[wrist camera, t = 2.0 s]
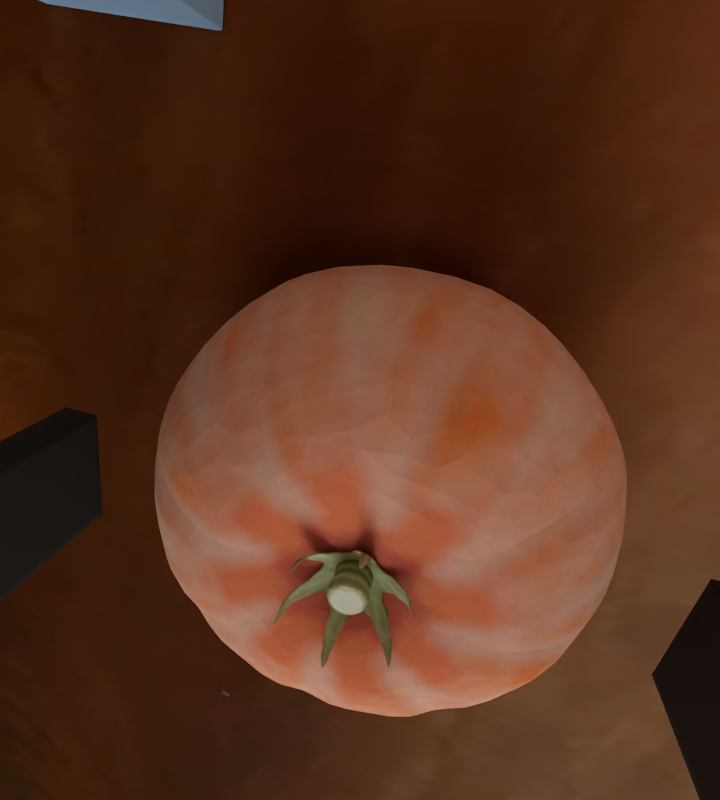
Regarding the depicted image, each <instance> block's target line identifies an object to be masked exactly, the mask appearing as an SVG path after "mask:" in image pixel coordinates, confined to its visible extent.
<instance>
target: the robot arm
mask: <svg viewBox="0 0 720 800" xmlns="http://www.w3.org/2000/svg"><path fill="white" fill-rule="evenodd" d="M101 515H102V500H101V483H100V467H99V450H98V433H97V417H96V415H92V414H88V413H85V412H81V411H77V410H73V409H70V408H64V409H62V410H60V411H58V412H56V413H54V414H52V415H51V416H49V417H47V418H45V419H43V420H41V421H39V422H37V423H35V424H33V425H31V426H29V427H27V428H26V429H24V430H22V431H20V432H18V433H16V434H14V435H12V436H10V437H8V438H6V439H4V440H2V441H0V602H1V601H2V600H3V599H4V598H5V597H7V596H8V595H9V594H10V593H11V592H12V591H14V590H15V589H16V588H17V587H18V586H19V585H21V584H22V583H23V582H24V581H25V580H26V579H28V578H29V577H30V576H31V575H32V574H33V573H34V572H36V571H37V570H38V569H39V568H40V567H41V566H43V565H44V564H45V563H46V562H47V561H48V560H50V559H51V558H52V557H53V556H54V555H55V554H57V553H58V552H59V551H60V550H61V549H62V548H64V547H65V546H66V545H67V544H68V543H69V542H70V541H72V540H73V539H74V538H75V537H76V536H77V535H79V534H80V533H81V532H82V531H83V530H84V529H86V528H87V527H88V526H89V525H90V524H91V523H93V522H94V521H95V520H96V519H97V518H98V517H100V516H101ZM652 676H653V679H654V681H655V684H656V687H657V689H658V692H659V694H660V697H661V700H662V702H663V705H664V707H665V710H666V713H667V715H668V718H669V721H670V723H671V726H672V728H673V731H674V734H675V736H676V739H677V741H678V744H679V747H680V749H681V752H682V754H683V757H684V760H685V762H686V765H687V767H688V770H689V773H690V775H691V778H692V781H693V783H694V786H695V788H696V791H697V794H698V796H699V799H700V800H720V581H717V580H713V579H711V580H710V582H709V583H708V585H707V587H706V588H705V590H704V591H703V593H702V595H701V596H700V598H699V599H698V601H697V603H696V604H695V606H694V607H693V609H692V611H691V612H690V614H689V616H688V617H687V619H686V620H685V622H684V624H683V625H682V627H681V628H680V630H679V632H678V633H677V635H676V636H675V638H674V640H673V641H672V643H671V645H670V646H669V648H668V649H667V651H666V653H665V654H664V656H663V657H662V659H661V661H660V662H659V664H658V666H657V667H656V669H655V670H654V672H653V674H652Z"/></svg>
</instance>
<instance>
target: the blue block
mask: <svg viewBox="0 0 720 800" xmlns="http://www.w3.org/2000/svg"><path fill="white" fill-rule="evenodd" d="M40 1H42V2H44V3H47V4H51V5H58V6H64V7H71V8H77V9H83V10H90V11H96V12H102V13H109V14H115V15H122V16H128V17H134V18H141V19H147V20H153V21H160V22H166V23H173V24H179V25H185V26H192V27H198V28H204V29H211V30H217V31H220V30H222V28H223V5H224V0H40Z"/></svg>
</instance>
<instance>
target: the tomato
mask: <svg viewBox="0 0 720 800" xmlns="http://www.w3.org/2000/svg"><path fill="white" fill-rule="evenodd" d="M626 497H627V477H626V463H625V459H624V454H623V449H622V446H621V443H620V441H619V438H618V435H617V432H616V430H615V427H614V424H613V422H612V420H611V418H610V416H609V414H608V412H607V410H606V408H605V406H604V404H603V402H602V400H601V398H600V397H599V395H598V394H597V392H596V390H595V389H594V387H593V385H592V384H591V382H590V381H589V379H588V377H587V376H586V374H585V372H584V371H583V369H582V368H581V367H580V366H579V365H578V363H577V362H576V361H575V360H574V358H573V357H572V356H571V355H570V353H569V352H568V351H567V350H566V348H565V347H564V346H563V345H562V343H561V342H560V341H559V340H558V339H557V338H556V337H555V336H554V335H553V334H552V333H551V332H550V331H549V330H548V329H547V328H546V327H545V326H544V325H543V324H542V323H540V322H539V321H538V320H537V319H535V318H534V317H533V316H532V315H530V314H529V313H528V312H527V311H525V310H524V309H523V308H522V307H520V306H519V305H518V304H516V303H514V302H512V301H511V300H509V299H507V298H505V297H504V296H502V295H500V294H498V293H497V292H495V291H493V290H491V289H489V288H486V287H483V286H480V285H477V284H474V283H471V282H469V281H466V280H463V279H460V278H457V277H454V276H449V275H445V274H440V273H435V272H430V271H426V270H421V269H416V268H410V267H399V266H389V265H366V266H347V267H336V268H331V269H326V270H322V271H317V272H313V273H308V274H305V275H302V276H299V277H297V278H294V279H291V280H289V281H287V282H285V283H283V284H281V285H279V286H277V287H276V288H274V289H272V290H271V291H269V292H267V293H266V294H264V295H262V296H261V297H259V298H257V299H256V300H254V301H252V302H251V303H249V304H248V305H247V306H246V307H244V308H243V309H242V310H241V311H239V312H238V313H237V314H236V315H235V316H233V317H232V318H231V319H230V320H228V321H227V322H226V323H225V324H224V325H223V326H222V327H221V328H220V329H219V330H218V331H217V332H216V333H215V334H214V335H213V337H212V338H211V339H210V340H209V341H208V342H207V343H206V344H205V345H204V346H203V348H202V349H201V350H200V352H199V353H198V354H197V356H196V357H195V358H194V360H193V361H192V362H191V363H190V365H189V366H188V368H187V369H186V371H185V373H184V374H183V376H182V377H181V379H180V380H179V382H178V383H177V385H176V387H175V390H174V392H173V394H172V396H171V398H170V400H169V402H168V405H167V408H166V411H165V414H164V417H163V420H162V423H161V427H160V433H159V440H158V447H157V455H156V462H155V503H156V510H157V517H158V523H159V527H160V532H161V536H162V540H163V544H164V548H165V552H166V556H167V559H168V562H169V565H170V568H171V570H172V572H173V573H174V575H175V577H176V578H177V580H178V582H179V584H180V585H181V587H182V589H183V590H184V592H185V593H186V594H187V596H188V597H189V598H190V599H191V600H192V601H193V602H194V603H195V604H196V605H197V606H198V607H199V609H200V610H201V612H202V614H203V615H204V617H205V619H206V620H207V622H208V623H209V625H210V626H211V628H212V629H213V630H214V632H215V633H216V634H217V635H218V636H219V638H220V639H221V640H222V641H223V642H224V643H225V644H226V645H228V646H229V647H230V648H231V649H232V650H234V651H235V652H236V653H237V654H238V655H240V656H241V657H242V658H243V659H244V660H246V661H247V662H248V663H249V664H250V665H252V666H253V667H254V668H255V669H256V670H258V671H259V672H260V673H261V674H263V675H265V676H267V677H268V678H270V679H272V680H274V681H275V682H277V683H279V684H282V685H286V686H289V687H293V688H297V689H301V690H303V691H306V692H308V693H310V694H312V695H314V696H316V697H317V698H319V699H321V700H323V701H325V702H327V703H328V704H332V705H335V706H339V707H342V708H346V709H350V710H356V711H362V712H367V713H373V714H379V715H385V716H403V717H410V716H414V715H418V714H421V713H425V712H428V711H432V710H438V709H445V708H465V707H469V706H473V705H476V704H480V703H484V702H487V701H489V700H492V699H494V698H496V697H498V696H501V695H503V694H505V693H507V692H510V691H512V690H514V689H516V688H519V687H521V686H522V685H524V684H526V683H528V682H530V681H531V680H533V679H535V678H536V677H537V676H539V675H540V674H541V673H543V672H544V671H545V670H546V669H548V668H549V667H550V666H551V665H553V664H554V663H555V662H556V661H557V660H558V659H559V658H560V657H561V655H562V654H563V653H564V652H565V650H566V649H567V648H568V647H569V645H570V644H571V643H572V642H573V640H574V639H575V638H576V637H577V635H578V634H579V633H580V631H581V630H582V629H583V628H584V626H585V625H586V624H587V622H588V621H589V620H590V619H591V617H592V616H593V615H594V613H595V612H596V610H597V608H598V606H599V605H600V603H601V601H602V599H603V597H604V595H605V594H606V591H607V589H608V586H609V584H610V581H611V578H612V576H613V573H614V569H615V565H616V562H617V558H618V554H619V551H620V547H621V542H622V536H623V530H624V523H625V516H626Z"/></svg>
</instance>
